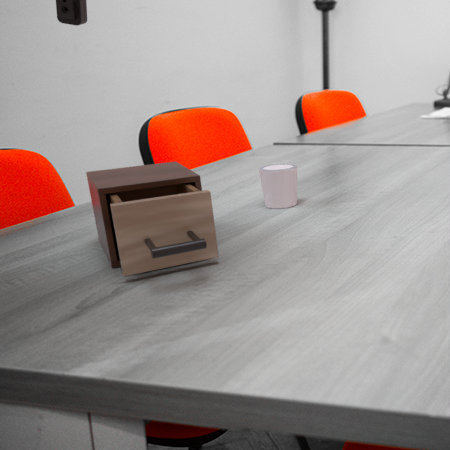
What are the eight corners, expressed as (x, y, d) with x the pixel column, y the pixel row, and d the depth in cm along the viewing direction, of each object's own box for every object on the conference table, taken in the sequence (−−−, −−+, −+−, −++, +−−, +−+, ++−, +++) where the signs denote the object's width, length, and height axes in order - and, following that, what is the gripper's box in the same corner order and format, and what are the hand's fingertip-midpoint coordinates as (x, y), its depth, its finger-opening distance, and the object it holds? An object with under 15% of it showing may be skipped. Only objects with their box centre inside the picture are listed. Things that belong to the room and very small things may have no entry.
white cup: (308, 203, 105) (305, 165, 103) (278, 211, 100) (274, 172, 98) (284, 198, 109) (280, 162, 107) (254, 206, 104) (250, 168, 102)
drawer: (233, 270, 70) (224, 200, 67) (132, 292, 64) (118, 216, 61) (193, 233, 85) (185, 175, 83) (109, 248, 80) (98, 186, 77)
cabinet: (209, 249, 81) (200, 175, 78) (112, 268, 74) (97, 188, 71) (185, 226, 93) (176, 161, 90) (99, 241, 86) (85, 171, 83)
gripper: (48, -183, 54) (62, 9, 61) (-38, -217, 42) (-7, 25, 50) (131, -165, 55) (135, 21, 62) (70, -194, 43) (84, 40, 51)
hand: (72, 23), depth 56 cm, fingers closed
